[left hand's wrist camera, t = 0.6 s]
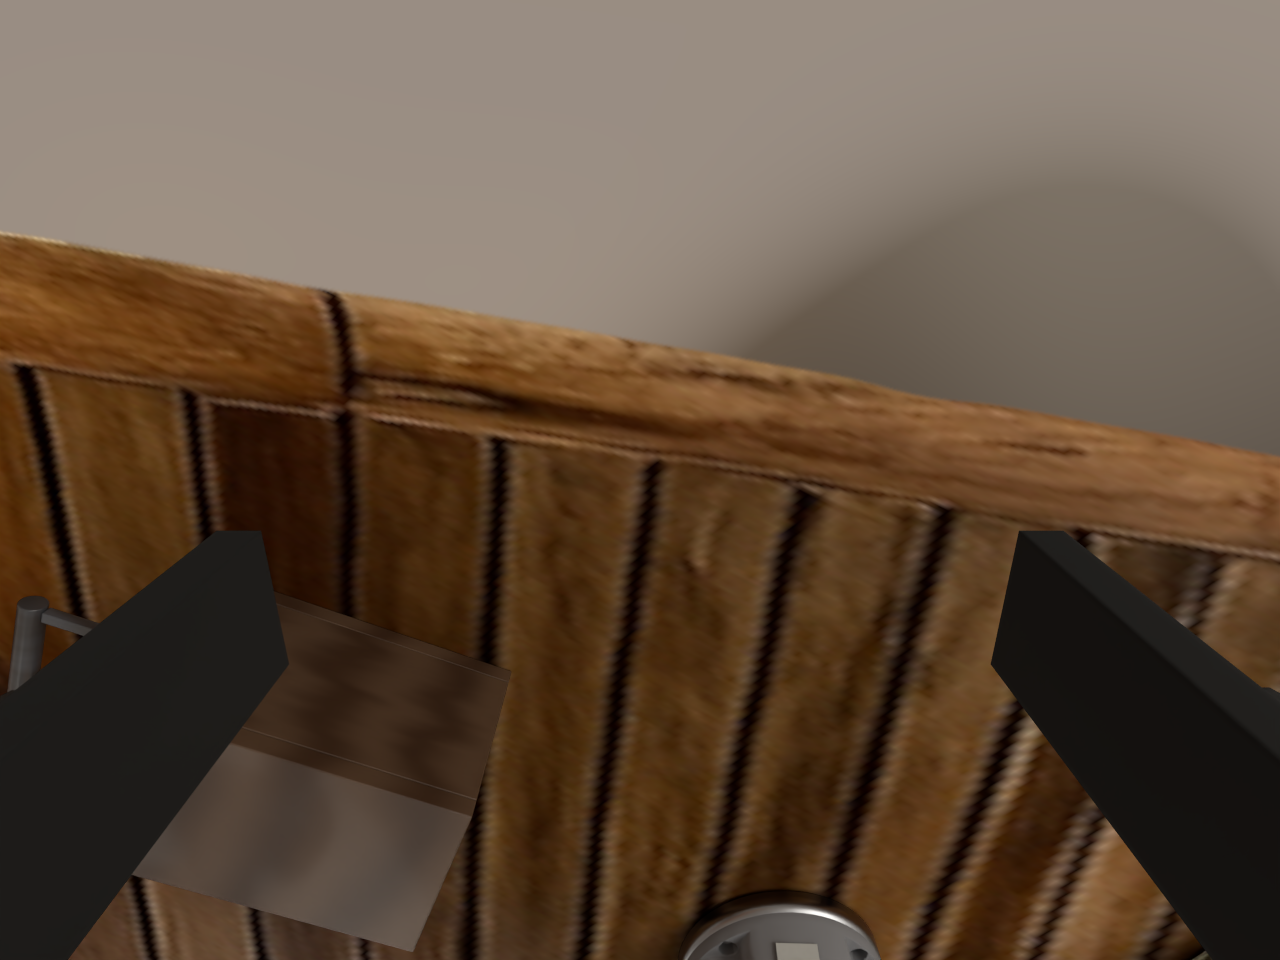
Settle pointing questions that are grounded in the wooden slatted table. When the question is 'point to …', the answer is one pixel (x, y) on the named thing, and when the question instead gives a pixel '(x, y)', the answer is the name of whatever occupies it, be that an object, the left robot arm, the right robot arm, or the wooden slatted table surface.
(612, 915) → the wooden slatted table surface
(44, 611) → the drawer
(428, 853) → the cabinet
